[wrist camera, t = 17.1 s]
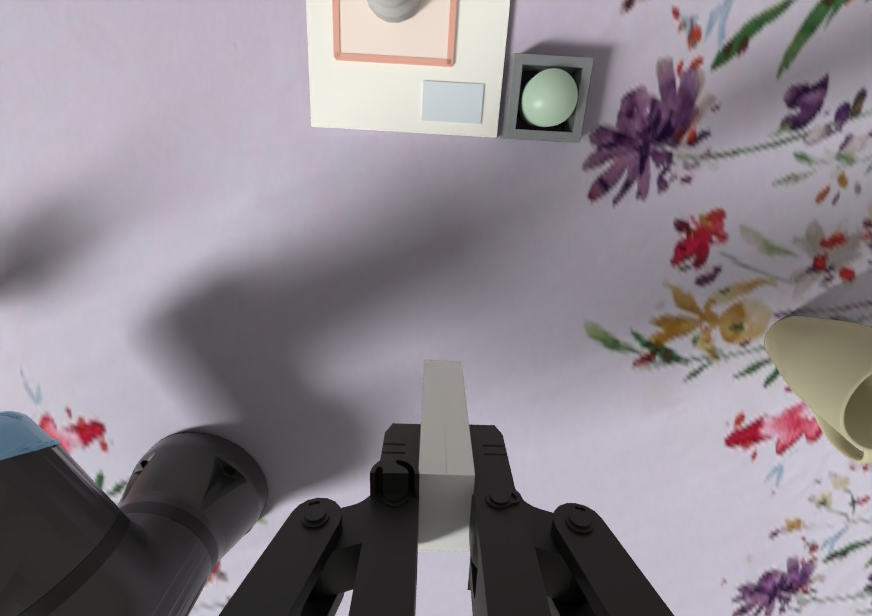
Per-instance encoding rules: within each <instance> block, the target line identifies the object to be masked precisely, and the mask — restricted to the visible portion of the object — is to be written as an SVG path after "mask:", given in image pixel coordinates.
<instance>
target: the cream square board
mask: <svg viewBox="0 0 872 616" xmlns="http://www.w3.org/2000/svg"><path fill="white" fill-rule="evenodd" d="M509 7H510V0H421V1H420V3H419V6H418V9H417V10H416V11H415V12H414V13H413V15H412V16H411V17H410V18H409V19H406V20H404V21H402V22H400V23H389V22H386V21H384V20H382V19H380V18H378V17H377V16H376V15H375V13H374V12H373V11H372V10H371V9H370V7H369V5H368V2H367V0H306V12H307V35H308V58H309V81H310V104H311V127H326V128H343V129H359V130H376V131H392V132H409V133H426V134H442V135H459V136H475V137H492V138H497V128H498V118H499V108H500V98H501V88H502V78H503V68H504V58H505V47H506V37H507V27H508V17H509Z"/></svg>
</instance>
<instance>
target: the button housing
mask: <svg viewBox="0 0 872 616" xmlns="http://www.w3.org/2000/svg"><path fill="white" fill-rule="evenodd" d="M593 59H594V58H588V57H571V56H554V55H537V54H520V53H514V55H513V56H512V57H511V59H510V61H509V71H508V81H507V90H506V100H505V110H504V119H503V129H502V138H508V139H525V140H542V141H558V142H580V138H581V132H582V126H583V120H584V114H585V108H586V102H587V96H588V90H589V84H590V78H591V72H592V65H593ZM551 68H557V69H561V70H564V71H566V72H567V73H573V74H572V78H573V79H574V81H575V83H576V86H577V91H578V98H577V103H576V106H575V109H574V111H573V112H572V114H571V115H570V116H569V117H568V118H567V119H566V120H565V127H564V132H556V131H539V130H523V129H515V128H516V119H517V110H518V101H519V92H520V84H521V75H522V70H524V71H544V70H546V69H551Z"/></svg>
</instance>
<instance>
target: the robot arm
mask: <svg viewBox="0 0 872 616" xmlns="http://www.w3.org/2000/svg"><path fill="white" fill-rule="evenodd" d="M60 444H61V442H60V441H59V440H57V439H53V438H51V437H50V436H49V435H48V434H47V433H46V432H45V431H44V430H43V429H42V428H40V427H39V426H38V425H37V424H36V423H35V422H34V421H33V420H32V419H31V418H30V417H28V416H27V415H25V414H22V413H19V412H14V411H4V412H0V616H188V615H189V613H190V612H191V610H192V608H193V606H194V604H195V602H196V601H197V599H198V597H199V595H200V593H201V591H202V590H203V588H204V586H205V584H206V582H207V580H208V578H209V576H210V575H211V573H212V571H213V569H214V567H215V566H216V564H217V562H218V561H219V560H220V559H221V558H222V557H223V556H224V555H225V554H226V553H227V552H228V551H229V550H230V549H231V548H232V547H233V546H234V545H235V544H236V543H237V542H238V541H239V540H240V539H241V538H242V537H243V536H244V535H245V534H247V533H248V532H249V531H250V530H251V529H252V527H253V526H254V525H255V523H256V522H257V520H258V518H259V516H260V514H261V512H262V510H263V508H264V506H265V504H266V500H267V484H266V480H265V477H264V475H263V473H262V471H261V469H260V468H259V466H258V465H257V463H256V462H255V461H254V460H253V459H252V458H251V457H250V456H249V455H248V454H247V453H246V452H245V451H244V450H242V449H241V448H239V447H238V446H236V445H235V444H233V443H231V442H229V441H227V440H225V439H222V438H219V437H217V436H213V435H209V434H204V433H180V434H175V435H172V436H169V437H166V438H164V439H162V440H160V441H159V442H158V443H156V444H155V445H154V446H153V447H152V448H151V449H150V450H149V451H148V452H147V453H146V454H145V455H144V456H143V457H142V458H141V459H140V461H139V462H138V464H137V465H136V467H135V468H134V471H133V473H132V475H131V477H130V480H129V482H128V484H127V486H126V489H125V491H124V493H123V495H122V498H121V500H120V502H119V504H118V506H117V505H116V504H115V503H114V502H113V501H112V500H111V499H110V498H109V497H108V496H107V495H106V494H105V493H104V492H103V491H102V489H101V488H100V487H99V486H98V485H97V484H96V483H95V482H94V481H93V480H92V479H91V478H90V477H89V476H88V474H87V473H86V472H85V471H84V470H83V469H82V468H81V467H80V466H79V465H78V464H77V463H76V462H75V461H74V459H73V458H72V457H71V456H70V455H69V454H68V453H67V452H66V451H65V450H64V449H63V448H62V447H61V446H60ZM469 544H470V555H471V556H470V568H469V581H468V590H471V598H472V611H473V616H674V615H673V613H672V612H671V611H670V609H669V608H668V607H667V605H666V604H665V603H664V601H663V600H662V599H661V597H660V596H659V595H658V593H657V592H656V591H655V589H654V588H653V587H652V585H651V584H650V583H649V581H648V580H647V579H646V577H645V576H644V574H643V573H642V572H641V570H640V569H639V568H638V566H637V565H636V564H635V562H634V561H633V560H632V558H631V557H630V556H629V554H628V553H627V552H626V550H625V549H624V548H623V546H622V545H621V544H620V542H619V541H618V540H617V538H616V537H615V535H614V534H613V533H612V531H611V530H610V529H609V527H608V526H607V525H606V523H605V522H604V521H603V519H602V518H601V517H600V516H599V515H598V514H597V513H596V512H595V511H593V510H592V509H590V508H588V507H586V506H584V505H580V504H576V503H566V504H563V505H560V506H558V508H557V509H556V510H555V511H554V513H552V512H548V511H545V510H541V509H538V508H536V507H533V506H531V505H530V504H528V503H526V502H525V501H524V500H523V499H522V497H521V495H520V493H519V492H517V491H516V489H515V486H514V482H513V478H512V473H511V469H510V465H509V460H508V456H507V452H506V447H505V443H504V439H503V435H502V434H501V432H500V431H499V430H498V429H497V428H496V427H495V425H469V421H468V413H467V405H466V396H465V388H464V379H463V371H462V363H461V361H436V360H424V378H423V397H422V416H421V424H392V425H391V426H390V428H389V429H388V430H387V431H386V432H385V437H384V442H383V448H382V454H381V459H380V461H378V462H377V463H376V464H375V465H374V466H373V467H372V469H371V471H370V496H369V497H368V498H366V499H365V500H363V501H362V502H360V503H358V504H355V505H352V506H347V507H343V508H340V506H339V505H338V504H337V503H336V502H335V501H333V500H330V499H328V498H315V499H311V500H307V501H305V502H304V503H302V504H300V505H299V506H298V507H297V508H296V509H295V510H294V511H293V512H292V513H291V514H290V516H289V517H288V519H287V520H286V521H285V523H284V524H283V526H282V527H281V528H280V530H279V531H278V533H277V534H276V535H275V537H274V538H273V540H272V541H271V542H270V544H269V545H268V547H267V548H266V550H265V551H264V552H263V554H262V555H261V557H260V558H259V559H258V561H257V562H256V564H255V565H254V566H253V568H252V569H251V571H250V572H249V573H248V575H247V576H246V578H245V579H244V581H243V582H242V583H241V585H240V586H239V588H238V589H237V590H236V592H235V593H234V595H233V596H232V597H231V599H230V600H229V602H228V603H227V604H226V606H225V607H224V609H223V610H222V612H221V613H220V614H219V616H335V614H336V612H337V609H338V607H339V605H340V603H341V601H342V599H343V596H344V592H346V591H349V590H352V589H353V595H352V600H351V606H350V611H349V616H415V609H416V585H417V555H418V551H438V552H469Z"/></svg>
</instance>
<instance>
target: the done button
mask: <svg viewBox="0 0 872 616" xmlns="http://www.w3.org/2000/svg"><path fill="white" fill-rule="evenodd" d="M577 98H578V91H577V86H576V83H575V81H574V79H573V78H572V77H571V75H569V74H568V73H567V72H566V71H564V70H561V69H557V68H551V69H546V70H544V71H541V72H540V73H538V74H537V75H536V76H534V77H533V78H532V79H530V80H529V81H528V82H527V83H526V84H525V85H524V86H523V88H522V90H521V92H520V94H519V101H518V109H519V113H520V115H521V117H522V118H523V120H524V121H525V122H526V123H527V124H529V125H531V126H533V127H538V128H542V127H549V126H555V125H558V124H560V123H562V122H564V121H565V120H566V119H567V118H568V117H569V116H570V115H571V114H572V112H573V111H574V109H575V106H576V103H577Z"/></svg>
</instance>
